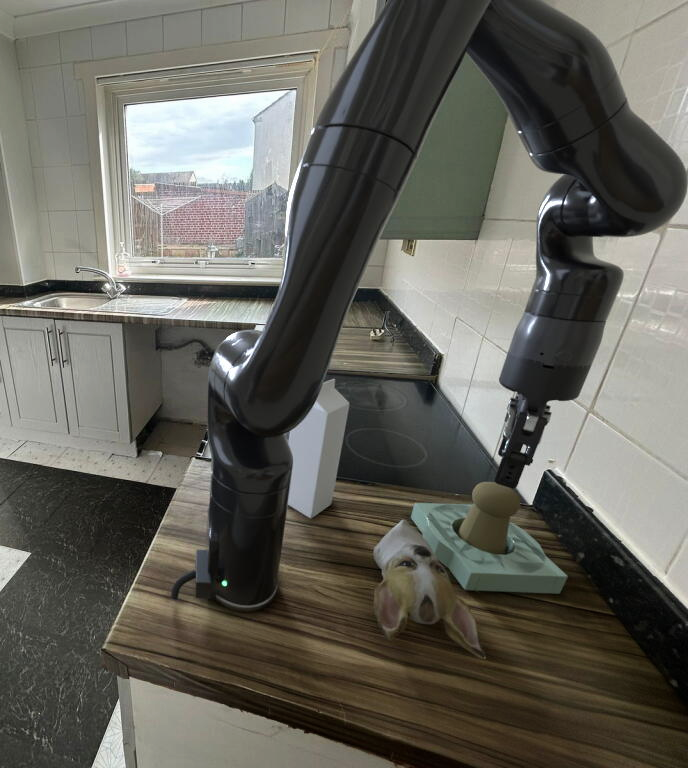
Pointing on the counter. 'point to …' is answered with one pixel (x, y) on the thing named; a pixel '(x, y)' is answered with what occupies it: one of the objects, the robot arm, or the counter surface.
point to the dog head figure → (419, 590)
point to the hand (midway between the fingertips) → (505, 470)
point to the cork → (489, 517)
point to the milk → (317, 452)
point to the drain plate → (487, 554)
